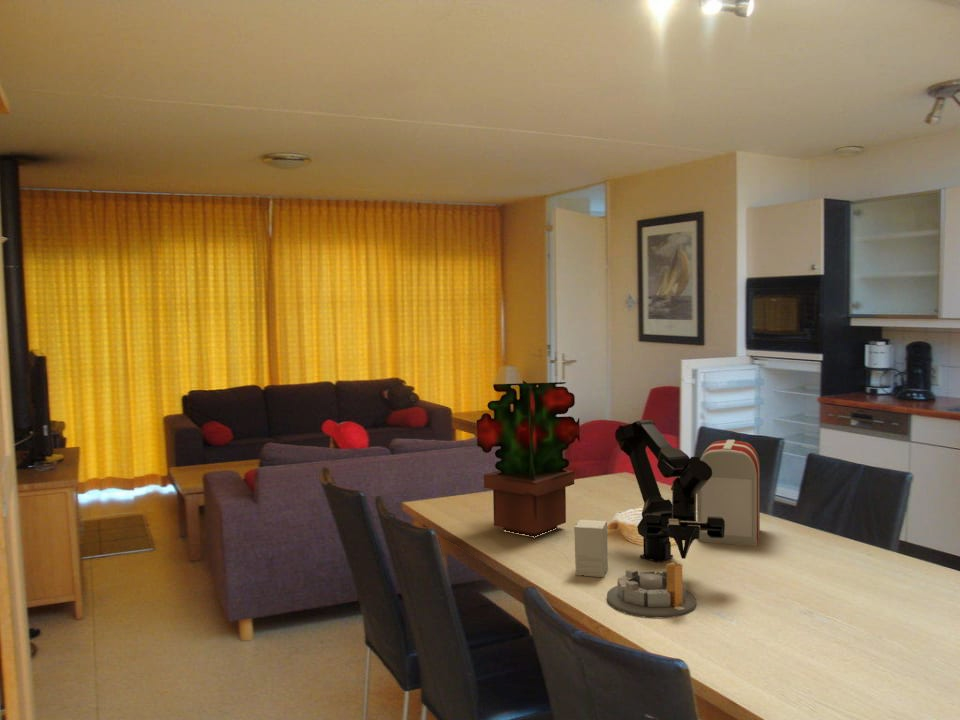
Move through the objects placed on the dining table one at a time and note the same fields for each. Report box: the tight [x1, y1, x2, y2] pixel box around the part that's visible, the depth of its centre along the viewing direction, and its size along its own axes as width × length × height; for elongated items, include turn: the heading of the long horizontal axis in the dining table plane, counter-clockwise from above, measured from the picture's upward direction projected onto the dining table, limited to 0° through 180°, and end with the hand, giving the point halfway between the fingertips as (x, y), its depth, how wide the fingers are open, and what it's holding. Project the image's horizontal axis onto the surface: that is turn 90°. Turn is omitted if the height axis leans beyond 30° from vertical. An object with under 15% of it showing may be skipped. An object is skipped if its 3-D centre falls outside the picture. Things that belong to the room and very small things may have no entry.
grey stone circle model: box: [606, 574, 697, 618], centre depth 183 cm, size 20×20×6 cm
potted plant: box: [476, 380, 581, 537], centre depth 242 cm, size 22×22×45 cm
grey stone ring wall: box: [617, 561, 686, 607], centre depth 183 cm, size 15×14×9 cm
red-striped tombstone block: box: [696, 439, 761, 547], centre depth 233 cm, size 16×18×27 cm
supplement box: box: [573, 519, 609, 578], centre depth 203 cm, size 7×7×13 cm
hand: (683, 557), depth 187 cm, fingers closed
